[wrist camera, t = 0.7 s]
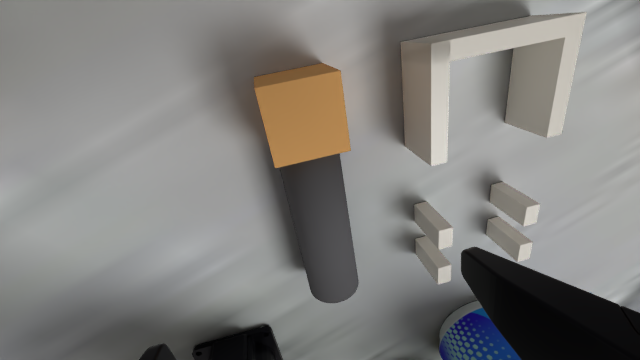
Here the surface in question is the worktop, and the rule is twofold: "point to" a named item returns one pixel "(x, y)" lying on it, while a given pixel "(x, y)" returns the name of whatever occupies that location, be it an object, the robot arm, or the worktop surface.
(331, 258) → the stamp-like rod
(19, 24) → the worktop surface
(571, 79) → the cream arch-shaped block
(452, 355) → the beer can
